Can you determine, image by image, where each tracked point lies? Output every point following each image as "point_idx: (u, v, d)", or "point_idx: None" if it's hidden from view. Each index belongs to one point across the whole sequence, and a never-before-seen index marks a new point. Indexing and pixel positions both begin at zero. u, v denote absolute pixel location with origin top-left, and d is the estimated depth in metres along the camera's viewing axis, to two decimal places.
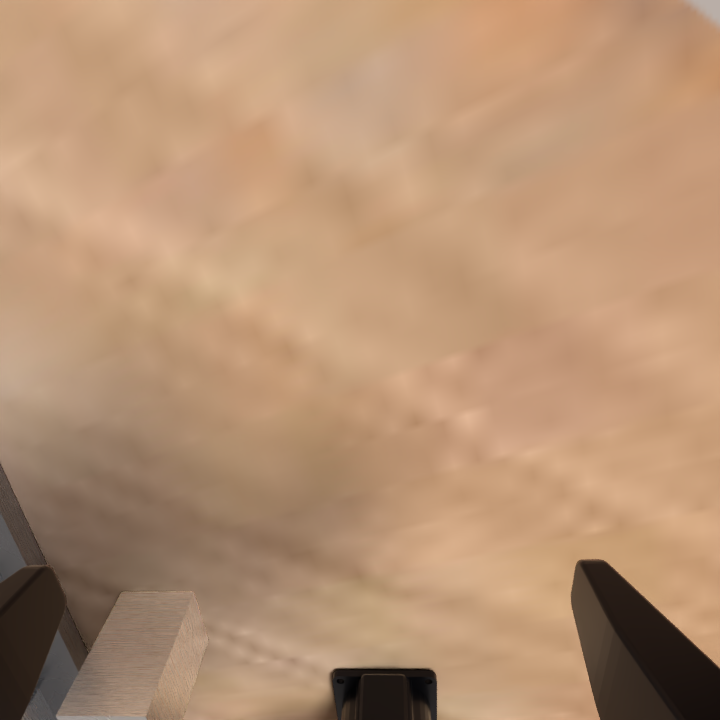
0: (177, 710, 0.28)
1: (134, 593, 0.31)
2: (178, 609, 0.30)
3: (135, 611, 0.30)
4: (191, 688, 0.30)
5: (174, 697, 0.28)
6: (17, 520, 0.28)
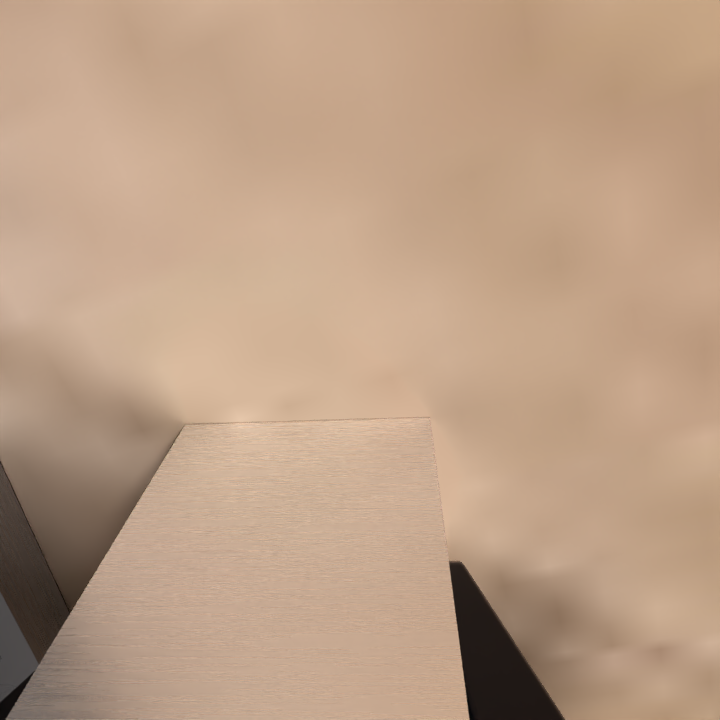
0: None
1: (228, 428, 0.09)
2: (403, 462, 0.08)
3: (244, 471, 0.08)
4: None
5: None
6: None
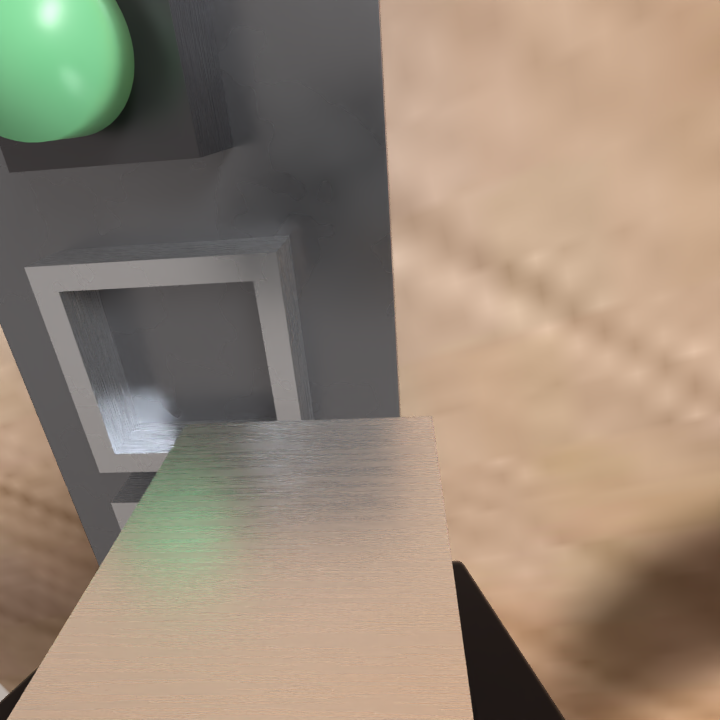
0: None
1: (230, 427, 0.09)
2: (405, 461, 0.08)
3: (246, 470, 0.08)
4: None
5: None
6: (382, 62, 0.15)
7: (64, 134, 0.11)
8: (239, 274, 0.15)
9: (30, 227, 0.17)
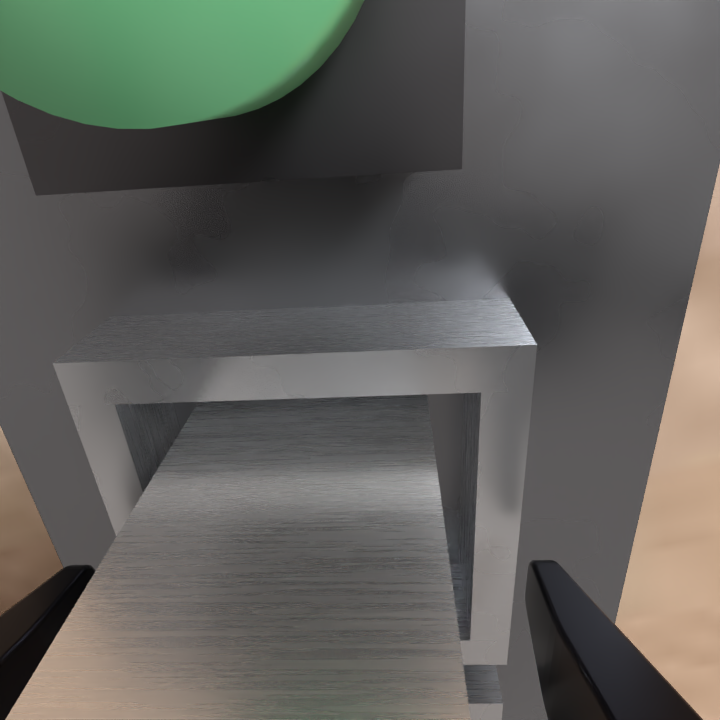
0: None
1: None
2: (401, 410, 0.09)
3: (264, 419, 0.10)
4: None
5: None
6: None
7: (227, 106, 0.04)
8: (457, 381, 0.08)
9: (55, 279, 0.10)
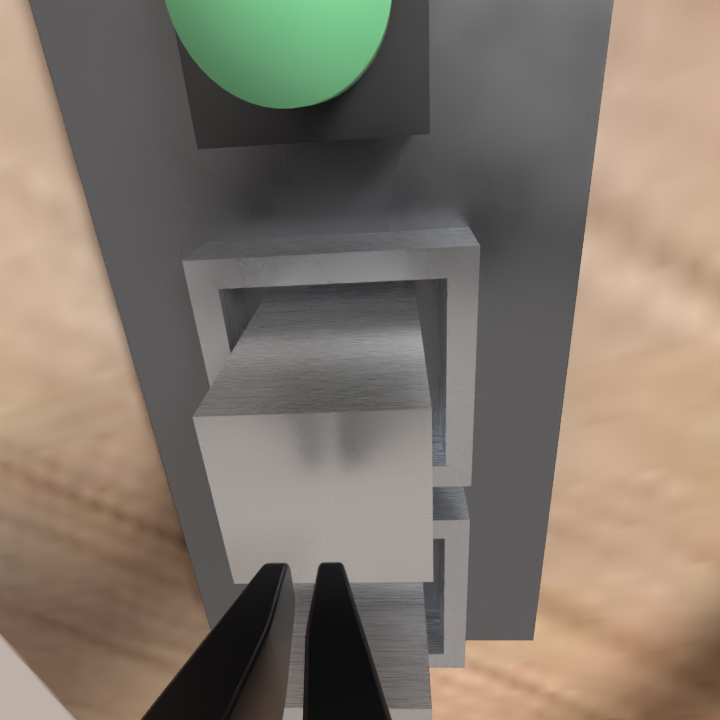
0: None
1: (295, 290, 0.16)
2: (398, 298, 0.15)
3: (309, 304, 0.15)
4: None
5: None
6: None
7: (323, 99, 0.09)
8: (432, 270, 0.13)
9: (171, 216, 0.15)
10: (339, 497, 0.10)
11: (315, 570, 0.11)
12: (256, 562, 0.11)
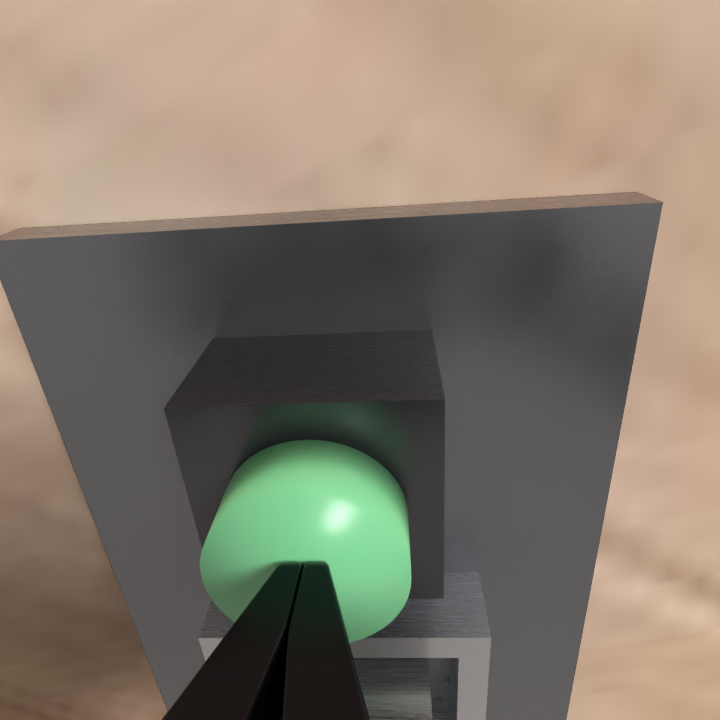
0: None
1: None
2: None
3: None
4: None
5: None
6: None
7: None
8: (444, 652, 0.14)
9: (186, 557, 0.15)
10: None
11: None
12: None
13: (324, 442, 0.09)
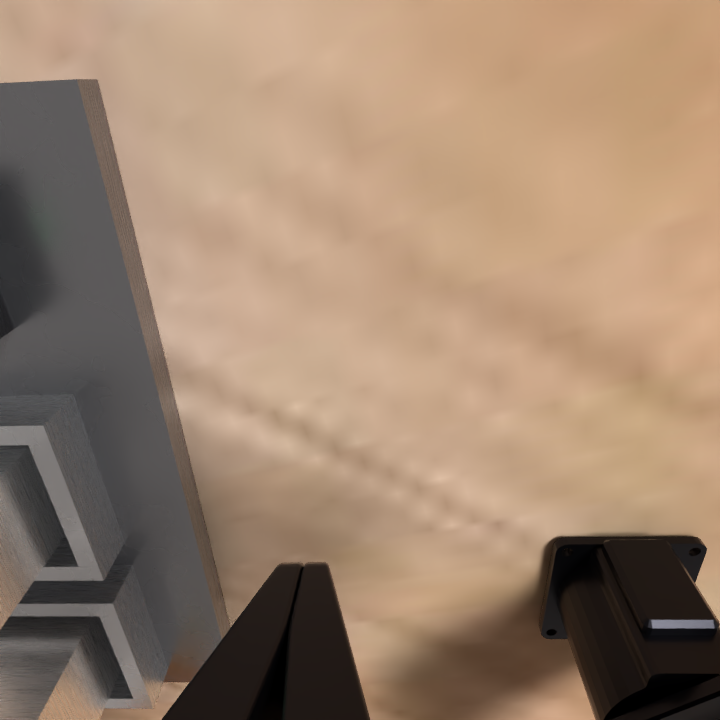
0: None
1: None
2: (13, 450, 0.19)
3: None
4: (35, 572, 0.20)
5: None
6: (135, 266, 0.18)
7: None
8: (15, 439, 0.18)
9: None
10: None
11: None
12: None
13: None
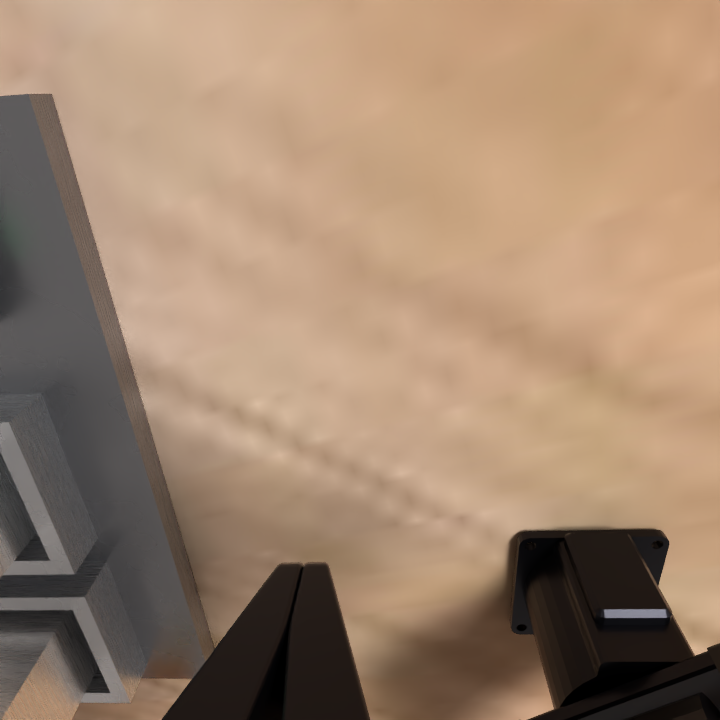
0: None
1: None
2: None
3: None
4: (5, 564, 0.20)
5: None
6: (95, 269, 0.19)
7: None
8: None
9: None
10: None
11: None
12: None
13: None
